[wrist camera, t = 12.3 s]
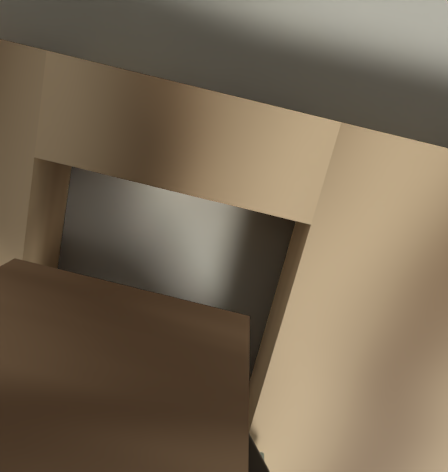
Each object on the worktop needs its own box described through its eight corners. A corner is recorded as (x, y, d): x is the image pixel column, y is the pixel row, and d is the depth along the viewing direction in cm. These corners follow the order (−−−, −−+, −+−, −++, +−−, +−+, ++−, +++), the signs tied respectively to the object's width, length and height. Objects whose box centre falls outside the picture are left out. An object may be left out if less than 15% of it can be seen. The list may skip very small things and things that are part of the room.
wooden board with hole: (613, 193, 12) (699, 209, 10) (418, 596, 16) (446, 675, 14) (-68, 27, 12) (-143, 4, 10) (-90, 473, 16) (-146, 530, 14)
